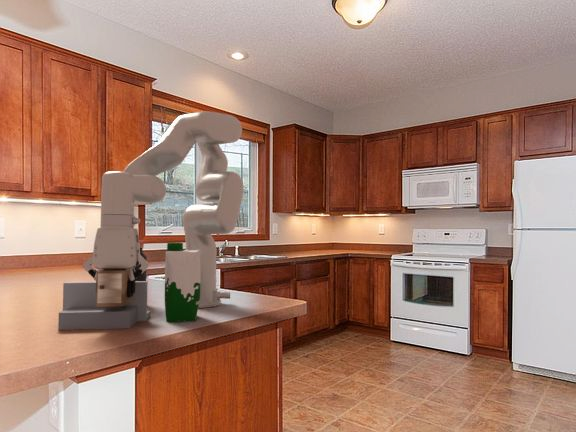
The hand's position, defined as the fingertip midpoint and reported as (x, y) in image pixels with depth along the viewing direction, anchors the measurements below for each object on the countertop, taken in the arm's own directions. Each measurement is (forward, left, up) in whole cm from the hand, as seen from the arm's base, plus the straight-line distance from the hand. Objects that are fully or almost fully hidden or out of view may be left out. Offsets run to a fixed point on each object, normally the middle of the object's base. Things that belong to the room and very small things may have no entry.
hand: (115, 295), depth 95 cm
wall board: (+4, -4, -7) cm, 9 cm away
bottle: (+2, -26, -8) cm, 27 cm away
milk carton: (-15, -7, -8) cm, 18 cm away
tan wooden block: (0, 0, -2) cm, 2 cm away
